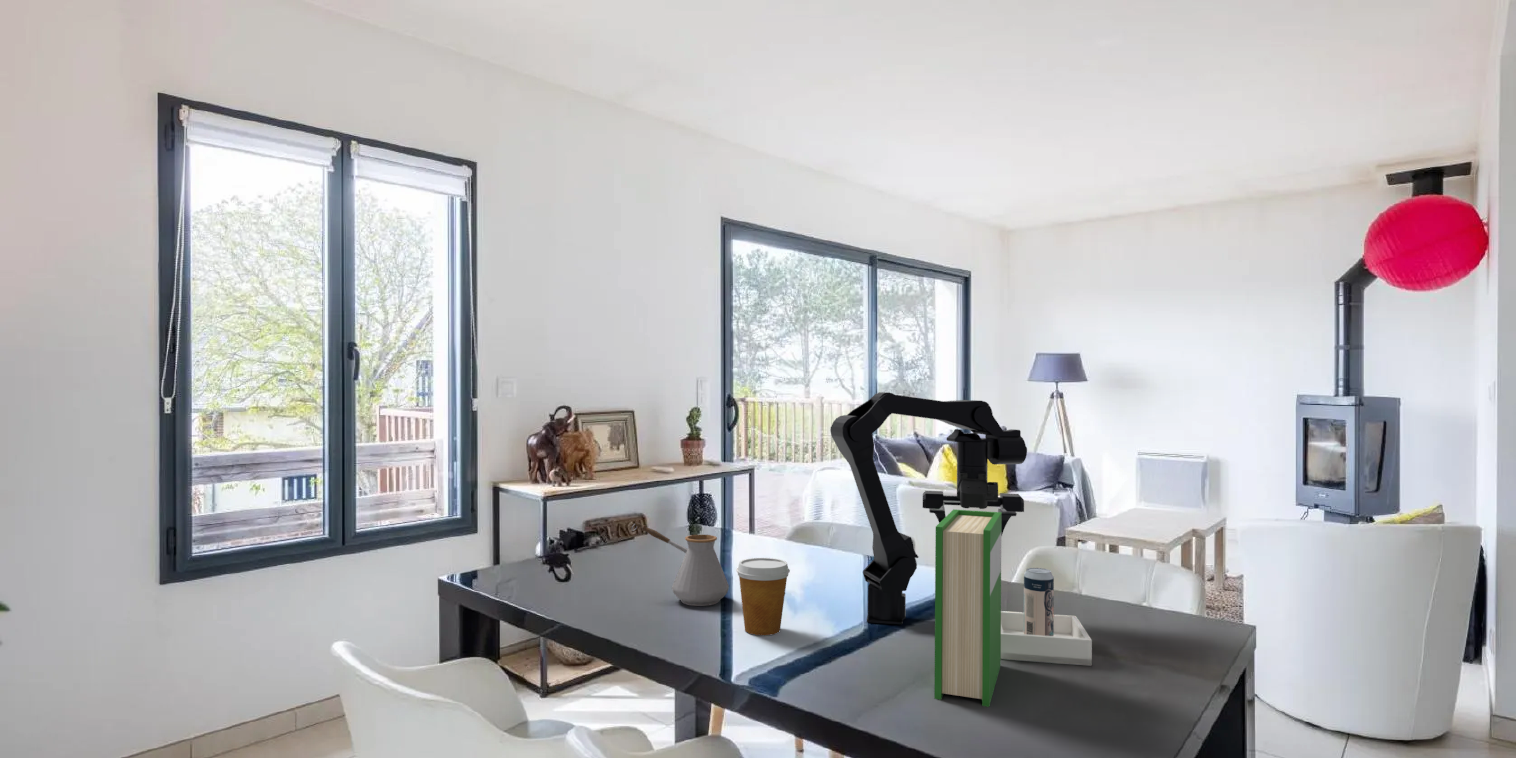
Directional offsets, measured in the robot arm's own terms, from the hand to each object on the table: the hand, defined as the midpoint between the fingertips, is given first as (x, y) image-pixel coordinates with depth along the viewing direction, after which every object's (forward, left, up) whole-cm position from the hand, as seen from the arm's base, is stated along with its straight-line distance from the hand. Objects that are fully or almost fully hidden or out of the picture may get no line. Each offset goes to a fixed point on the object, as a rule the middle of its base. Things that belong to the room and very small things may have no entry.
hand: (971, 545), depth 156 cm
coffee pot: (-58, -3, -13) cm, 60 cm away
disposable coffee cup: (-37, -20, -13) cm, 44 cm away
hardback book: (-2, -37, -13) cm, 40 cm away
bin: (+10, -19, -13) cm, 25 cm away
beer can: (+10, -19, -12) cm, 25 cm away
